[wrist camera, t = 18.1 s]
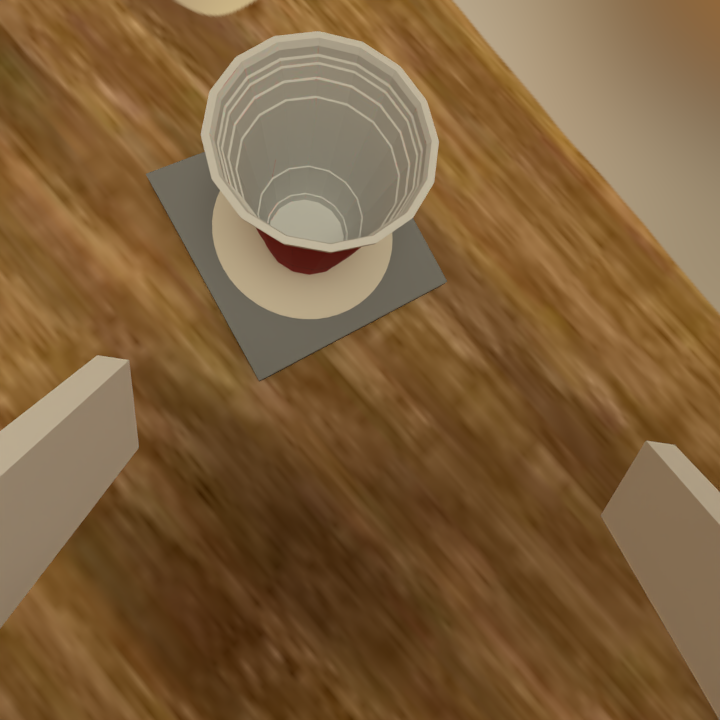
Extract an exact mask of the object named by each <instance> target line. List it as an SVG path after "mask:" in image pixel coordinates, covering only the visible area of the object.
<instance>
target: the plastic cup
mask: <svg viewBox="0 0 720 720" xmlns="http://www.w3.org/2000/svg"><path fill="white" fill-rule="evenodd" d="M201 137H202V141H203V146H204V150H205V154H206V158H207V162H208V166H209V170H210V174H211V179H212V180H213V182H214V183H215V184H216V186H217V187H218V188H219V189H220V191H221V192H222V193H223V195H224V196H225V197H226V199H227V200H228V201H229V203H230V204H231V205H232V207H233V208H234V209H235V211H236V212H237V213H238V215H239V216H240V217H241V218H242V219H243V220H244V221H246V222H248V223H249V224H251V225H253V226H254V227H256V229H257V231H258V233H259V235H260V236H261V238H262V239H263V240H264V242H265V244H266V246H267V248H268V249H269V251H270V252H271V253H272V255H273V256H274V257H275V259H276V260H277V262H279V263H280V264H282V265H283V266H285V267H286V268H288V269H290V270H291V271H293V272H298V273H303V274H308V275H311V274H316V273H322V272H326V271H328V270H329V269H331V268H332V267H334V266H336V265H337V264H339V263H340V262H342V261H343V260H345V259H346V258H348V257H349V256H351V255H352V254H353V253H355V252H356V251H357V250H358V249H360V248H361V247H364V246H369V245H374V244H376V243H377V242H379V241H380V240H382V239H383V238H384V237H386V236H387V235H389V234H390V233H392V232H393V231H395V230H396V229H398V228H399V227H400V226H402V225H403V224H405V223H406V222H408V221H409V220H411V219H412V218H413V217H414V215H415V213H416V212H417V210H418V208H419V207H420V205H421V203H422V202H423V200H424V198H425V197H426V195H427V193H428V192H429V190H430V188H431V187H432V185H433V183H434V179H435V170H436V162H437V153H438V144H439V140H438V137H437V134H436V130H435V127H434V123H433V120H432V117H431V113H430V110H429V107H428V103H427V100H426V99H425V98H424V97H423V95H422V94H421V93H420V91H419V90H418V89H417V87H416V86H415V85H414V84H413V82H412V81H411V80H410V78H409V77H408V76H407V74H406V73H405V72H404V71H403V69H402V68H401V67H400V66H399V65H397V64H396V63H394V62H393V61H391V60H390V59H388V58H387V57H385V56H384V55H382V54H380V53H379V52H377V51H376V50H374V49H373V48H371V47H370V46H368V45H367V44H365V43H363V42H361V41H357V40H353V39H348V38H344V37H340V36H336V35H332V34H328V33H324V32H320V31H316V32H307V33H299V34H290V35H281V36H274V37H272V38H270V39H268V40H266V41H264V42H263V43H261V44H259V45H257V46H255V47H253V48H251V49H250V50H248V51H246V52H244V53H242V54H240V55H239V56H237V57H235V59H234V60H233V61H232V63H231V64H230V65H229V66H228V68H227V69H226V70H225V72H224V73H223V74H222V76H221V77H220V78H219V80H218V81H217V82H216V84H215V85H214V86H213V88H212V89H211V90H210V92H209V97H208V101H207V106H206V111H205V116H204V121H203V126H202V131H201Z"/></svg>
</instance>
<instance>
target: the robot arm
mask: <svg viewBox="0 0 720 720" xmlns="http://www.w3.org/2000/svg"><path fill="white" fill-rule="evenodd" d="M138 448H139V443H138V434H137V426H136V417H135V408H134V399H133V390H132V381H131V373H130V364H129V360H125V359H118V358H112V357H105V356H99V355H97V356H96V357H94V358H93V359H92V360H91V361H89V362H88V363H87V364H86V365H84V366H83V367H82V368H80V369H79V370H78V371H77V372H75V373H74V374H73V375H71V376H70V377H69V378H68V379H66V380H65V381H64V382H63V383H61V384H60V385H59V386H57V387H56V388H55V389H54V390H52V391H51V392H50V393H49V394H47V395H46V396H45V397H43V398H42V399H41V400H40V401H38V402H37V403H36V404H34V405H33V406H32V407H31V408H29V409H28V410H27V411H26V412H24V413H23V414H22V415H20V416H19V417H18V418H17V419H15V420H14V421H13V422H12V423H10V424H9V425H8V426H6V427H5V428H4V429H3V430H1V431H0V628H1V627H2V625H3V624H4V623H5V622H6V620H7V619H8V618H9V616H10V615H11V614H12V612H13V611H14V610H15V609H16V607H17V606H18V605H19V603H20V602H21V601H22V599H23V598H24V597H25V596H26V594H27V593H28V592H29V590H30V589H31V588H32V586H33V585H34V584H35V582H36V581H37V580H38V579H39V577H40V576H41V575H42V573H43V572H44V571H45V569H46V568H47V567H48V566H49V564H50V563H51V562H52V560H53V559H54V558H55V556H56V555H57V554H58V552H59V551H60V550H61V549H62V547H63V546H64V545H65V543H66V542H67V541H68V539H69V538H70V537H71V536H72V534H73V533H74V532H75V530H76V529H77V528H78V526H79V525H80V524H81V522H82V521H83V520H84V519H85V517H86V516H87V515H88V513H89V512H90V511H91V509H92V508H93V507H94V506H95V504H96V503H97V502H98V500H99V499H100V498H101V496H102V495H103V494H104V492H105V491H106V490H107V489H108V487H109V486H110V485H111V483H112V482H113V481H114V479H115V478H116V477H117V476H118V474H119V473H120V472H121V470H122V469H123V468H124V466H125V465H126V464H127V462H128V461H129V460H130V459H131V457H132V456H133V455H134V453H135V452H136V451H137V449H138ZM601 517H602V519H603V521H604V522H605V524H606V526H607V528H608V529H609V531H610V533H611V534H612V536H613V538H614V540H615V541H616V543H617V545H618V547H619V548H620V550H621V552H622V553H623V555H624V557H625V559H626V560H627V562H628V564H629V565H630V567H631V569H632V571H633V572H634V574H635V576H636V578H637V579H638V581H639V583H640V584H641V586H642V588H643V590H644V591H645V593H646V595H647V596H648V598H649V600H650V602H651V603H652V605H653V607H654V608H655V610H656V612H657V614H658V615H659V617H660V619H661V621H662V622H663V624H664V626H665V627H666V629H667V631H668V633H669V634H670V636H671V638H672V639H673V641H674V643H675V645H676V646H677V648H678V650H679V651H680V653H681V655H682V657H683V658H684V660H685V662H686V664H687V665H688V667H689V669H690V670H691V672H692V674H693V676H694V677H695V679H696V681H697V682H698V684H699V686H700V688H701V689H702V691H703V693H704V695H705V696H706V698H707V700H708V701H709V703H710V705H711V707H712V708H713V710H714V712H715V713H716V715H717V717H718V719H719V720H720V492H719V491H718V490H717V489H716V488H715V487H714V486H713V485H712V484H711V483H710V482H709V480H708V479H707V478H706V477H705V476H704V475H703V474H702V473H701V472H700V471H699V470H698V469H697V468H696V467H695V466H694V465H693V464H692V463H691V462H690V461H689V459H688V458H687V457H686V456H685V455H684V454H683V453H682V452H681V451H680V450H679V449H678V448H677V447H676V446H675V445H672V444H665V443H659V442H652V441H645V443H644V445H643V446H642V448H641V450H640V451H639V453H638V455H637V456H636V458H635V460H634V461H633V463H632V465H631V466H630V468H629V469H628V471H627V473H626V474H625V476H624V478H623V479H622V481H621V483H620V484H619V486H618V488H617V489H616V491H615V493H614V494H613V496H612V498H611V499H610V501H609V503H608V504H607V506H606V507H605V509H604V511H603V512H602V514H601Z"/></svg>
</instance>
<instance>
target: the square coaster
mask: <svg viewBox="0 0 720 720" xmlns="http://www.w3.org/2000/svg"><path fill="white" fill-rule="evenodd" d="M146 175H147V177H148V179H149V181H150V183H151V185H152V186H153V188H154V190H155V192H156V194H157V195H158V197H159V199H160V201H161V203H162V205H163V206H164V208H165V210H166V212H167V214H168V216H169V217H170V219H171V221H172V223H173V225H174V226H175V228H176V230H177V232H178V234H179V236H180V237H181V239H182V241H183V243H184V245H185V247H186V248H187V250H188V252H189V254H190V256H191V257H192V259H193V261H194V263H195V265H196V267H197V268H198V270H199V272H200V274H201V276H202V278H203V279H204V281H205V283H206V285H207V287H208V288H209V290H210V292H211V294H212V296H213V298H214V299H215V301H216V303H217V305H218V307H219V309H220V310H221V312H222V314H223V316H224V318H225V319H226V321H227V323H228V325H229V327H230V329H231V330H232V332H233V334H234V336H235V338H236V340H237V341H238V343H239V345H240V347H241V349H242V350H243V352H244V354H245V356H246V358H247V360H248V361H249V363H250V365H251V367H252V369H253V370H254V372H255V374H256V376H257V378H258V380H259V381H261V380H263V379H265V378H267V377H269V376H271V375H273V374H275V373H276V372H278V371H280V370H282V369H284V368H286V367H288V366H290V365H292V364H293V363H295V362H297V361H299V360H301V359H303V358H305V357H307V356H309V355H310V354H312V353H314V352H316V351H318V350H320V349H322V348H324V347H326V346H328V345H329V344H331V343H333V342H335V341H337V340H339V339H341V338H343V337H345V336H346V335H348V334H350V333H352V332H354V331H356V330H358V329H360V328H362V327H364V326H365V325H367V324H369V323H371V322H373V321H375V320H377V319H379V318H381V317H382V316H384V315H386V314H388V313H390V312H392V311H394V310H396V309H398V308H399V307H401V306H403V305H405V304H407V303H409V302H411V301H413V300H415V299H417V298H418V297H420V296H422V295H424V294H426V293H428V292H430V291H432V290H434V289H435V288H437V287H439V286H441V285H443V284H444V283H446V282H447V280H446V278H445V277H444V275H443V273H442V271H441V269H440V267H439V265H438V264H437V262H436V260H435V258H434V256H433V254H432V253H431V251H430V249H429V247H428V245H427V243H426V241H425V240H424V238H423V236H422V234H421V232H420V230H419V228H418V227H417V225H416V223H415V221H414V219H413V218H412V219H411V220H409V221H408V222H406V223H405V224H403V225H402V226H400V227H399V228H398V229H396V230H395V231H393V232H392V233H390V234H389V235H387V236H386V237H384V238H383V239H382V240H380V241H379V242H377V243H376V244H374V245H369V246H364V247H361V248H360V249H358V250H357V251H356V252H355V253H353V254H352V255H351V256H349V257H348V258H346V259H345V260H343V261H342V262H340V263H339V264H337V265H336V266H334V267H332V268H331V269H329V270H328V271H326V272H322V273H316V274H311V275H308V274H303V273H298V272H293V271H291V270H290V269H288V268H286V267H285V266H283V265H282V264H280V263H279V262H277V260H276V259H275V257H274V256H273V255H272V253H271V252H270V251H269V249H268V248H267V246H266V244H265V242H264V240H263V239H262V238H261V236H260V235H259V233H258V231H257V229H256V227H254V226H253V225H251V224H249V223H248V222H246V221H244V220H243V219H242V218H241V217H240V216H239V215H238V213H237V212H236V211H235V209H234V208H233V207H232V205H231V204H230V203H229V201H228V200H227V199H226V197H225V196H224V195H223V193H222V192H221V191H220V189H219V188H218V187H217V186H216V184H215V183H214V182H213V180H212V179H211V174H210V170H209V166H208V162H207V158H206V154H205V152H203V153H201V154H198V155H195V156H193V157H190V158H187V159H185V160H182V161H179V162H177V163H174V164H171V165H169V166H166V167H163V168H161V169H158V170H155V171H152V172H150V173H147V174H146Z"/></svg>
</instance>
